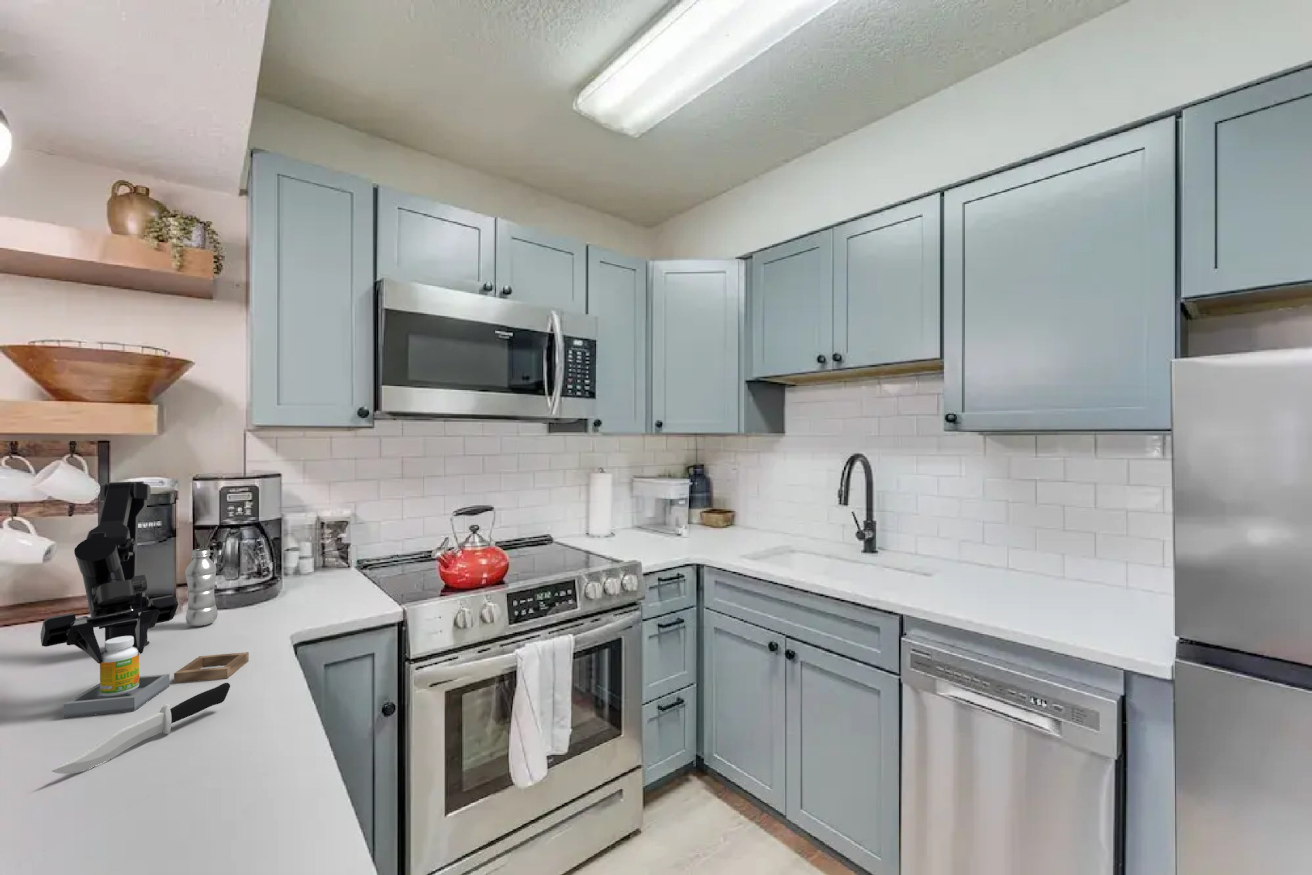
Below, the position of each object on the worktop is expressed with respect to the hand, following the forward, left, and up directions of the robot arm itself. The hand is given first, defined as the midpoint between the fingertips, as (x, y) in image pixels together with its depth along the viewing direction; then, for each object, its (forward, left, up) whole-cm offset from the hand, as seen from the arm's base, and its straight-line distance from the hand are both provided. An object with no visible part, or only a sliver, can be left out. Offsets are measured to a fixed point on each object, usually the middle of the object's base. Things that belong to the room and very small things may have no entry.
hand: (121, 657), depth 107 cm
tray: (-1, +1, -9) cm, 9 cm away
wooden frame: (+9, +12, -9) cm, 18 cm away
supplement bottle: (-1, +1, -7) cm, 7 cm away
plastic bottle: (-10, +48, -9) cm, 50 cm away
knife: (+14, -18, -9) cm, 24 cm away
